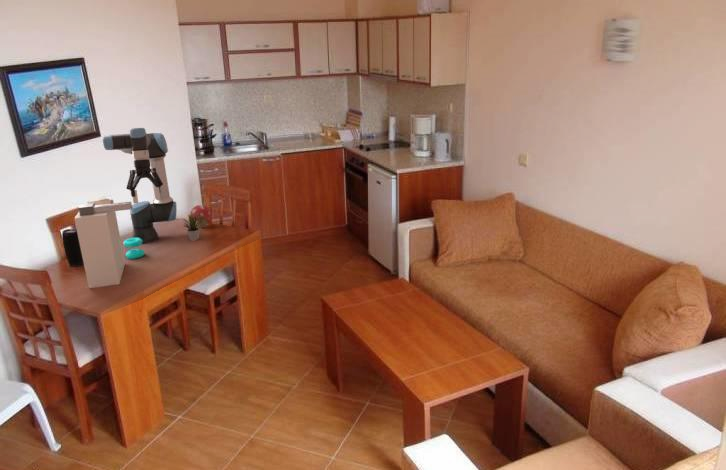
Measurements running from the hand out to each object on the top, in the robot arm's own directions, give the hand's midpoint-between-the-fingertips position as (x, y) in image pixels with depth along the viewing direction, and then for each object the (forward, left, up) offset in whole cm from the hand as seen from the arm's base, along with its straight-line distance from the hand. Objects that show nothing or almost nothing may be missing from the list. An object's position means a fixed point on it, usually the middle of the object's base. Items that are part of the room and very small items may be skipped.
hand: (147, 201), depth 285 cm
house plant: (-43, -25, -38) cm, 62 cm away
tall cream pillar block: (+19, -16, -37) cm, 45 cm away
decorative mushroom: (-60, -42, -38) cm, 82 cm away
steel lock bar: (+18, -6, -1) cm, 19 cm away
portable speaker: (+20, -47, -38) cm, 64 cm away
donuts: (-5, -30, -38) cm, 49 cm away
